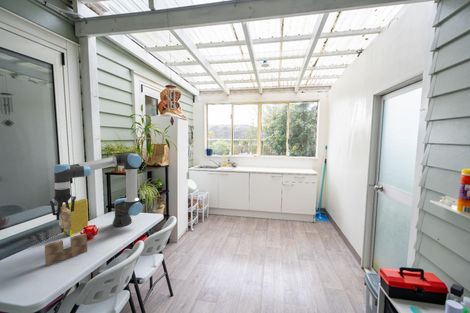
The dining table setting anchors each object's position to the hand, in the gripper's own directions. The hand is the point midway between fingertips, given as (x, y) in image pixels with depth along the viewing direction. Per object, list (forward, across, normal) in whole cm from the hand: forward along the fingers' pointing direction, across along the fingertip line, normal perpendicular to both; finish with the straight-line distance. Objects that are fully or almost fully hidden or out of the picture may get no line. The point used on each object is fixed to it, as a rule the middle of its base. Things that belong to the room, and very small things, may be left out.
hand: (63, 223), depth 127 cm
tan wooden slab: (+2, 0, +4) cm, 4 cm away
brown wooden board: (+21, 0, +6) cm, 21 cm away
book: (+21, -15, -35) cm, 43 cm away
